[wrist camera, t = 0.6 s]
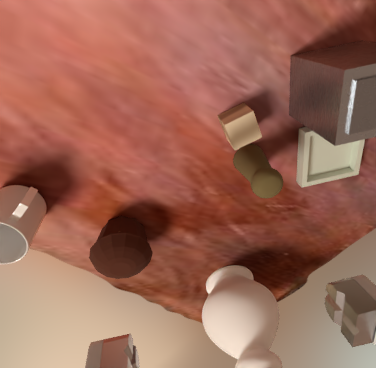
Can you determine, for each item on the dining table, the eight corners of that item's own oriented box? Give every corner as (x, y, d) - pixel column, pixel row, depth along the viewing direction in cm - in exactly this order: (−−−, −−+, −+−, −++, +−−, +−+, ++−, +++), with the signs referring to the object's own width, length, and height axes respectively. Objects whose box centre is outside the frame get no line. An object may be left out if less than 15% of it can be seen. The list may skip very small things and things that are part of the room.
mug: (34, 227, 55) (11, 271, 45) (-13, 206, 51) (-48, 249, 41) (66, 186, 51) (49, 225, 42) (18, 160, 47) (-13, 196, 38)
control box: (290, 55, 45) (346, 70, 32) (361, 40, 45) (443, 49, 33) (289, 116, 50) (336, 149, 38) (352, 102, 50) (419, 130, 38)
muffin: (150, 209, 56) (151, 244, 48) (152, 249, 62) (154, 286, 54) (90, 213, 55) (80, 249, 46) (98, 253, 61) (91, 292, 52)
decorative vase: (198, 308, 76) (220, 421, 55) (193, 264, 67) (217, 380, 45) (260, 297, 77) (305, 403, 56) (264, 252, 68) (320, 358, 47)
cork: (228, 168, 54) (246, 200, 45) (241, 140, 51) (263, 168, 42) (254, 175, 56) (277, 207, 46) (268, 148, 53) (295, 176, 44)
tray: (299, 128, 52) (305, 132, 50) (360, 114, 52) (368, 118, 50) (296, 181, 58) (301, 187, 56) (351, 169, 58) (358, 174, 56)
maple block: (217, 115, 48) (224, 125, 44) (243, 102, 48) (253, 110, 43) (226, 139, 51) (234, 150, 47) (252, 127, 50) (262, 137, 46)
